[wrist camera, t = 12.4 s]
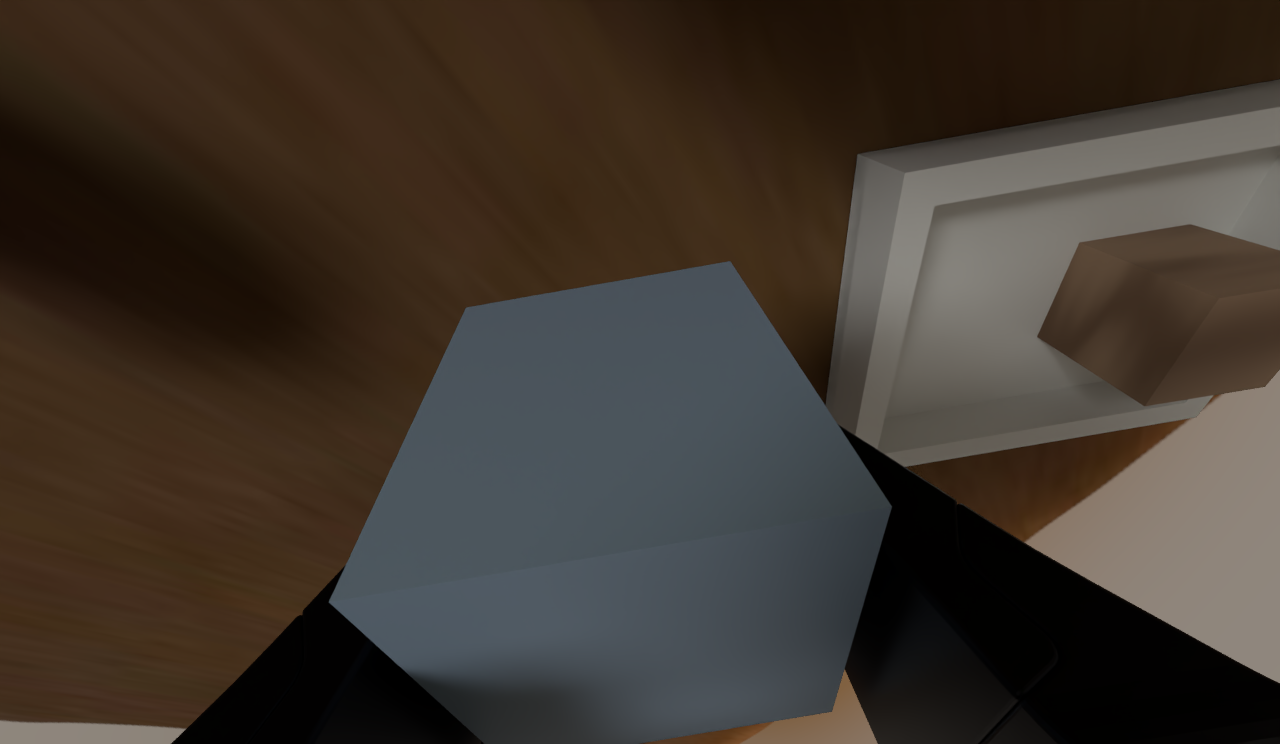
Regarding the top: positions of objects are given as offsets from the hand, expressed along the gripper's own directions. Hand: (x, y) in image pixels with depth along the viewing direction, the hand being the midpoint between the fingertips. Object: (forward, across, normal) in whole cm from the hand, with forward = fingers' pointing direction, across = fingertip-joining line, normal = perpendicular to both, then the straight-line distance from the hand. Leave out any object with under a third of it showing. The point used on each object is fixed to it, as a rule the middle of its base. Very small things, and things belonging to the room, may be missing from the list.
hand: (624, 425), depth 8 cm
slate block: (+1, 0, 0) cm, 1 cm away
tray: (+11, -18, +6) cm, 22 cm away
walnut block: (+10, -21, +6) cm, 24 cm away
